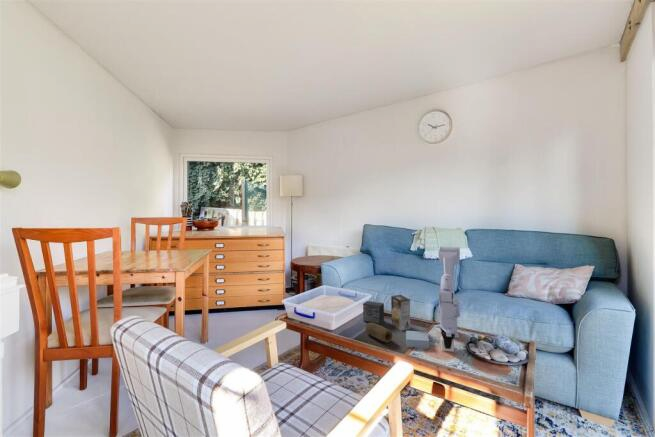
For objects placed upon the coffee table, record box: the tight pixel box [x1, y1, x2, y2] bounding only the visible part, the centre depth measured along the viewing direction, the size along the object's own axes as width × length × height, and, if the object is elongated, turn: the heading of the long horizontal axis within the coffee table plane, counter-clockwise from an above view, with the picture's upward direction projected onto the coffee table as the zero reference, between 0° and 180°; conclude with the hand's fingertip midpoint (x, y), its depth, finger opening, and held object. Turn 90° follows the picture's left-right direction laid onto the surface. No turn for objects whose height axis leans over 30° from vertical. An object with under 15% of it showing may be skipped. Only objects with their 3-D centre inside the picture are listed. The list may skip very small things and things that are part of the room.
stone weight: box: [365, 322, 394, 343], centre depth 152 cm, size 15×7×7 cm, turn 35°
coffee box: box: [390, 294, 411, 331], centre depth 164 cm, size 9×6×16 cm
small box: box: [362, 300, 385, 326], centre depth 173 cm, size 11×6×10 cm, turn 58°
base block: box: [405, 330, 430, 349], centre depth 145 cm, size 10×10×4 cm
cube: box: [440, 334, 455, 353], centre depth 139 cm, size 5×5×5 cm
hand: (447, 345), depth 139 cm, fingers closed on cube, 5 cm apart
